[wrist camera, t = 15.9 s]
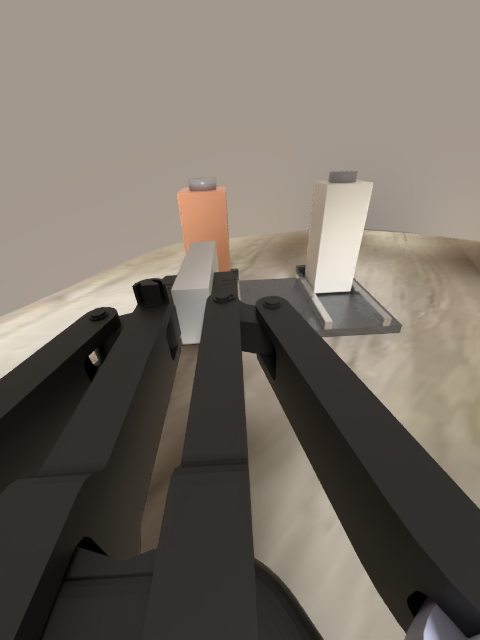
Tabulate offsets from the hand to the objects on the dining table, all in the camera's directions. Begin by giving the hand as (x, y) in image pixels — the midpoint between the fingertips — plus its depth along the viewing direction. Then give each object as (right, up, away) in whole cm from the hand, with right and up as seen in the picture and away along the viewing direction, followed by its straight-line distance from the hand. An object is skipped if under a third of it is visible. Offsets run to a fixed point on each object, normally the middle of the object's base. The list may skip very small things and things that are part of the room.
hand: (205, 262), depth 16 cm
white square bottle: (+14, +1, +21) cm, 25 cm away
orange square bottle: (-1, 0, +19) cm, 19 cm away
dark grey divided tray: (+7, -2, +18) cm, 19 cm away
